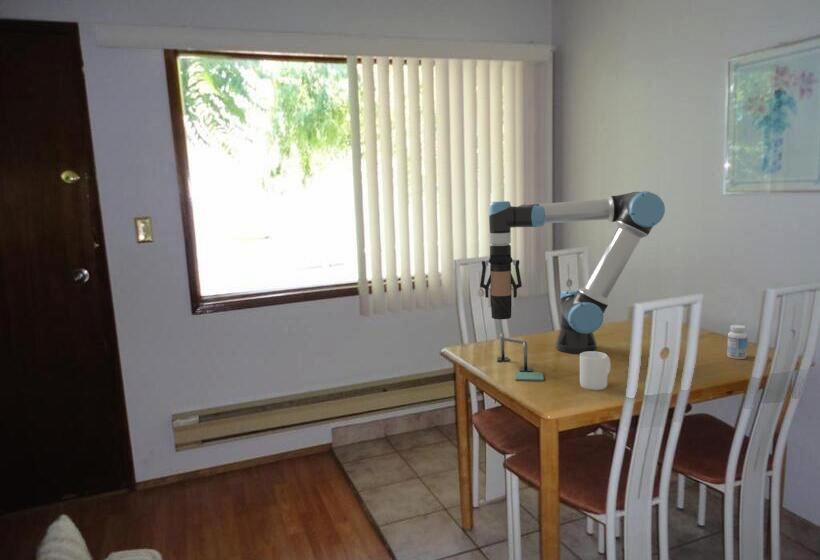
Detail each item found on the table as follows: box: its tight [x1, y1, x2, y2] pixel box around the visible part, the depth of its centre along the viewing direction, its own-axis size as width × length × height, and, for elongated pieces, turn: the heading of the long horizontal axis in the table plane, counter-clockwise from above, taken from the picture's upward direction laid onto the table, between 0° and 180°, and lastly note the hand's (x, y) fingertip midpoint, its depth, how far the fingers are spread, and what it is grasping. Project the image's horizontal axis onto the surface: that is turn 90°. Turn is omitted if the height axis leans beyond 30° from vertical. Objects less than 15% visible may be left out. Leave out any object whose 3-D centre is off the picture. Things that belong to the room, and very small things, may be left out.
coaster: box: [515, 371, 545, 382], centre depth 187 cm, size 9×7×1 cm
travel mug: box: [489, 263, 513, 320], centre depth 203 cm, size 8×8×20 cm
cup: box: [579, 350, 611, 391], centre depth 176 cm, size 8×12×10 cm
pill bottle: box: [726, 324, 749, 360], centre depth 197 cm, size 6×6×11 cm
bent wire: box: [496, 332, 533, 372], centre depth 199 cm, size 12×16×10 cm
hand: (501, 306), depth 204 cm, fingers closed on travel mug, 8 cm apart
